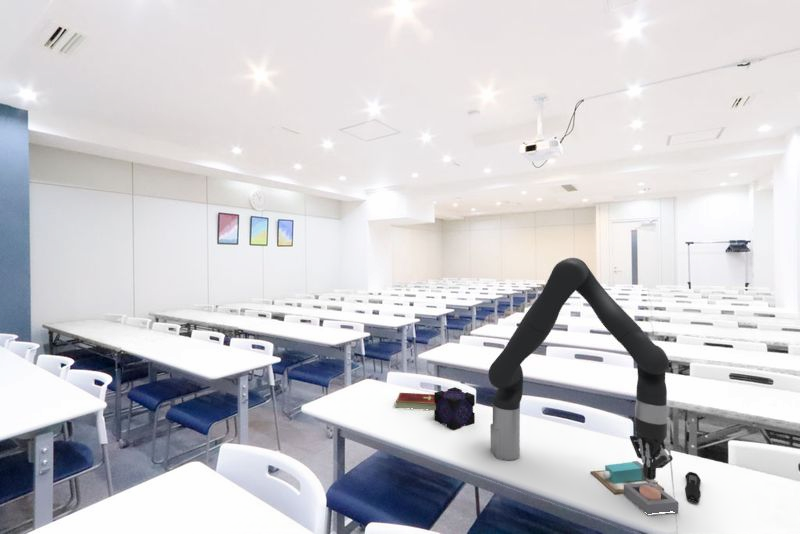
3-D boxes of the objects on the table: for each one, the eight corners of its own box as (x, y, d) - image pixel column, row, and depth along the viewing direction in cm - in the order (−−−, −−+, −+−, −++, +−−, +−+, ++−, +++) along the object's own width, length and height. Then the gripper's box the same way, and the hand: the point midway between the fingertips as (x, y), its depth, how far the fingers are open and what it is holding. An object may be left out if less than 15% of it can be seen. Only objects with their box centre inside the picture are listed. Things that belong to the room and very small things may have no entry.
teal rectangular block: (637, 472, 117) (637, 460, 117) (646, 479, 113) (646, 467, 113) (601, 477, 115) (600, 465, 115) (609, 484, 112) (608, 472, 112)
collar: (648, 515, 99) (648, 504, 99) (623, 494, 108) (623, 484, 108) (678, 512, 100) (678, 501, 100) (651, 492, 109) (651, 482, 109)
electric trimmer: (683, 502, 105) (683, 491, 105) (685, 477, 117) (685, 467, 117) (700, 508, 103) (700, 497, 103) (700, 482, 115) (700, 472, 115)
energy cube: (474, 423, 156) (474, 395, 156) (453, 430, 149) (453, 401, 149) (454, 413, 166) (455, 387, 166) (434, 420, 159) (434, 392, 159)
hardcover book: (399, 400, 183) (399, 391, 183) (442, 402, 180) (442, 393, 180) (396, 409, 171) (396, 400, 171) (441, 412, 168) (441, 403, 168)
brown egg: (648, 507, 101) (649, 497, 101) (635, 496, 106) (635, 486, 106) (665, 506, 102) (665, 495, 102) (650, 495, 107) (651, 484, 107)
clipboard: (614, 494, 108) (614, 490, 108) (590, 473, 119) (590, 469, 119) (664, 490, 110) (664, 485, 110) (636, 469, 121) (636, 465, 121)
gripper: (683, 427, 98) (681, 491, 98) (644, 407, 111) (642, 464, 111) (658, 428, 97) (656, 494, 97) (621, 408, 110) (620, 465, 110)
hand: (649, 478), depth 104 cm, fingers closed
